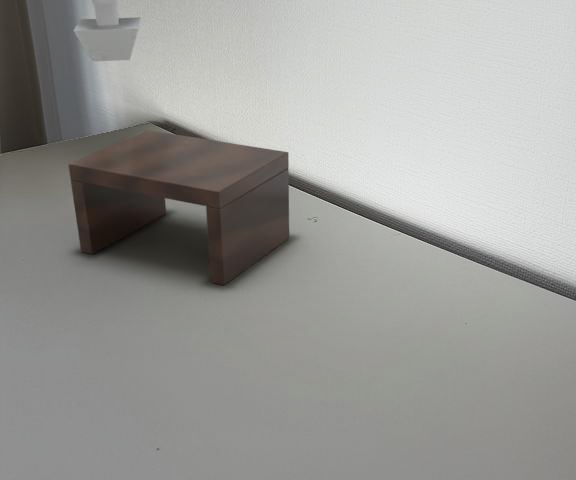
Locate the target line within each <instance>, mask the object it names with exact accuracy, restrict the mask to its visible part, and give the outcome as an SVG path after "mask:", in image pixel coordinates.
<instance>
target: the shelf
mask: <svg viewBox="0 0 576 480" xmlns="http://www.w3.org/2000/svg"><path fill="white" fill-rule="evenodd" d="M289 161H290V160H289V151H283V150H277V149H270V148H264V147H258V146H251V145H246V144H245V145H244V144H238V143H234V142H226V141H221V140H214V139H207V138H200V137H193V136H188V135H182V134H175V133H169V132H162V131H155V130H149V129H147V130H145V131H143V132H140V133H138V134H136V135H133V136H131V137H129V138H126V139H124V140H121V141H119V142H117V143H115V144H112V145H110V146H107V147H105V148H103V149H100V150H98V151H96V152H93V153H91V154H89V155H86V156H83V157H82V158H79V159H76V160H75V161H73V162H70V163H68V164H67V165H68V171H69V177H70V179H69V180H70V187H71V193H72V198H73V205H74V213H75V219H76V226H77V233H78V239H79V246H80V247H79V248H80V252H81V253H85V254H90V255H94V254H96V253H98V252H99V251H101V250H103V249H105V248H107V247H108V246H110V245H112V244H113V243H115V242H118V241H119V240H120V239H123V238H125V237H126V236H128V235H130V234H131V233H133V232H135V231H137V230H139V229H140V228H143V227H144V226H146V225H148V224H150V223H151V222H153V221H155V220H157V219H159V218H160V217H162V216H164V215H166V214H167V204H166V199H167V200H172V201H178V202H183V203H188V204H193V205H197V206H202V207H205V210H206V227H207V228H206V229H207V238H208V239H207V243H208V259H209V260H208V261H209V276H210V277H209V278H210V283H213V284H217V285H220V286H225V285H227V284H228V283H230V282H231V281H232V280H234V279H235V278H236V277H237V276H239V275H240V274H242V273H243V272H245V271H246V270H248V268H250V267H252V266H253V265H254V264H255V263H257V262H258V261H260V260H261V259H262V258H264V257H265V256H267V255H268V254H269V253H270V252H272V251H273V250H275V249H276V248H278V247H279V246H281V245H282V244H283V243H285V242H286V241H288V240H289V239H290V183H289V182H290V179H289V177H290V176H289V173H290V171H289V170H290V169H289V167H290V166H289V163H290V162H289Z"/></svg>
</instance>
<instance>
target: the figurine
mask: <svg viewBox="0 0 576 480" xmlns="http://www.w3.org/2000/svg"><path fill="white" fill-rule="evenodd" d="M91 2H92V4H93V5H94V11H95V12H94V13H95V18H80V19H78V21H77V23H76V24H75V27H74V29H73V32H74V34H75V36H76V38H77V39H78V41H79V42H80V44H81V46H82V48H83V49H84V52H85V53H86V54H87V57H89V59H90V61H91V62H117V61H118V62H119V61H130V60H131V57H132V54H133V49H134V47H135V43H136V40H137V35H138V32H139V28H140V23H141V17H140V16H139V17H120V16H119V8H118V0H91Z"/></svg>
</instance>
